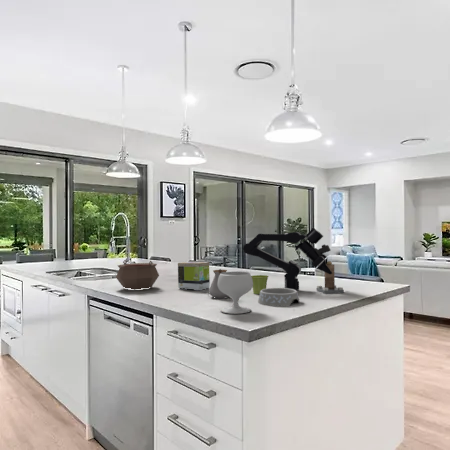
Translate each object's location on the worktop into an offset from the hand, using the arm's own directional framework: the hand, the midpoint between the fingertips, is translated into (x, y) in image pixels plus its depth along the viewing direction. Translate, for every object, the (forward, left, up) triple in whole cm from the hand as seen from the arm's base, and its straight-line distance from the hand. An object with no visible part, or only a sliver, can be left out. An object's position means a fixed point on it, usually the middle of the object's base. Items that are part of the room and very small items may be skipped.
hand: (332, 272), depth 190 cm
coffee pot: (-57, -4, -10) cm, 58 cm away
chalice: (-55, -32, -10) cm, 65 cm away
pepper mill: (-1, +1, -8) cm, 8 cm away
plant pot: (-36, +6, -10) cm, 38 cm away
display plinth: (-1, +1, -10) cm, 10 cm away
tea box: (-67, +31, -10) cm, 75 cm away
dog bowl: (-34, -19, -10) cm, 40 cm away
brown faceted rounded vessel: (-98, +40, -10) cm, 106 cm away
